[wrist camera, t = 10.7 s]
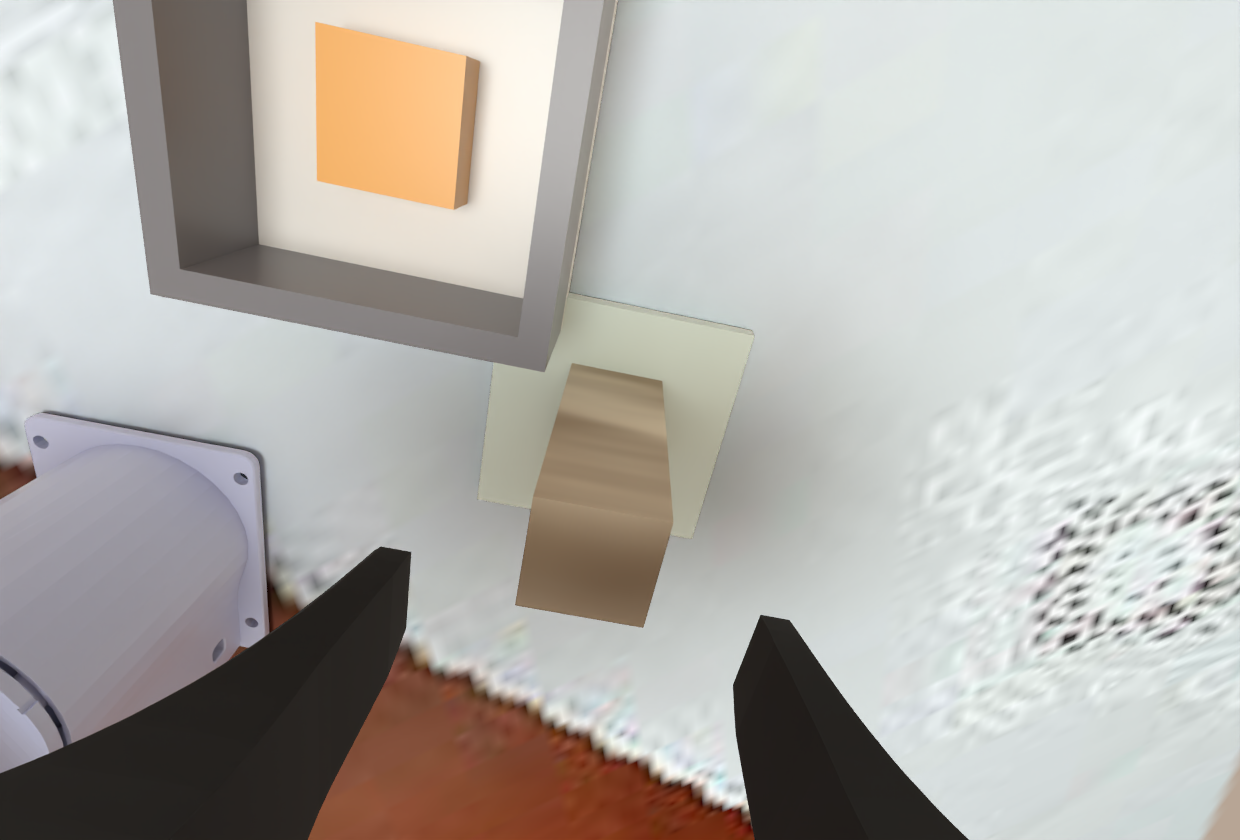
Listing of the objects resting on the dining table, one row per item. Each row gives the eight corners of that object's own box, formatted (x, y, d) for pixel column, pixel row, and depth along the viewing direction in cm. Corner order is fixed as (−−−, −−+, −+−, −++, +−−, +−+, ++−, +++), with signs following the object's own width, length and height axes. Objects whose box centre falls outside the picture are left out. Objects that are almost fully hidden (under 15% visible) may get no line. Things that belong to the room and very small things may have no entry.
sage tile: (690, 529, 24) (691, 539, 23) (480, 490, 23) (477, 499, 23) (751, 330, 20) (754, 336, 20) (506, 279, 20) (502, 284, 19)
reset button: (467, 203, 18) (453, 209, 16) (340, 176, 18) (317, 180, 16) (480, 61, 16) (466, 55, 15) (340, 30, 16) (314, 21, 15)
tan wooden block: (642, 459, 22) (643, 627, 14) (557, 443, 21) (515, 605, 14) (662, 380, 20) (673, 522, 13) (571, 362, 20) (533, 496, 13)
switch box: (563, 322, 20) (544, 372, 16) (252, 258, 20) (150, 293, 16) (626, -49, 16) (620, -107, 12) (229, -144, 15) (82, -239, 11)
